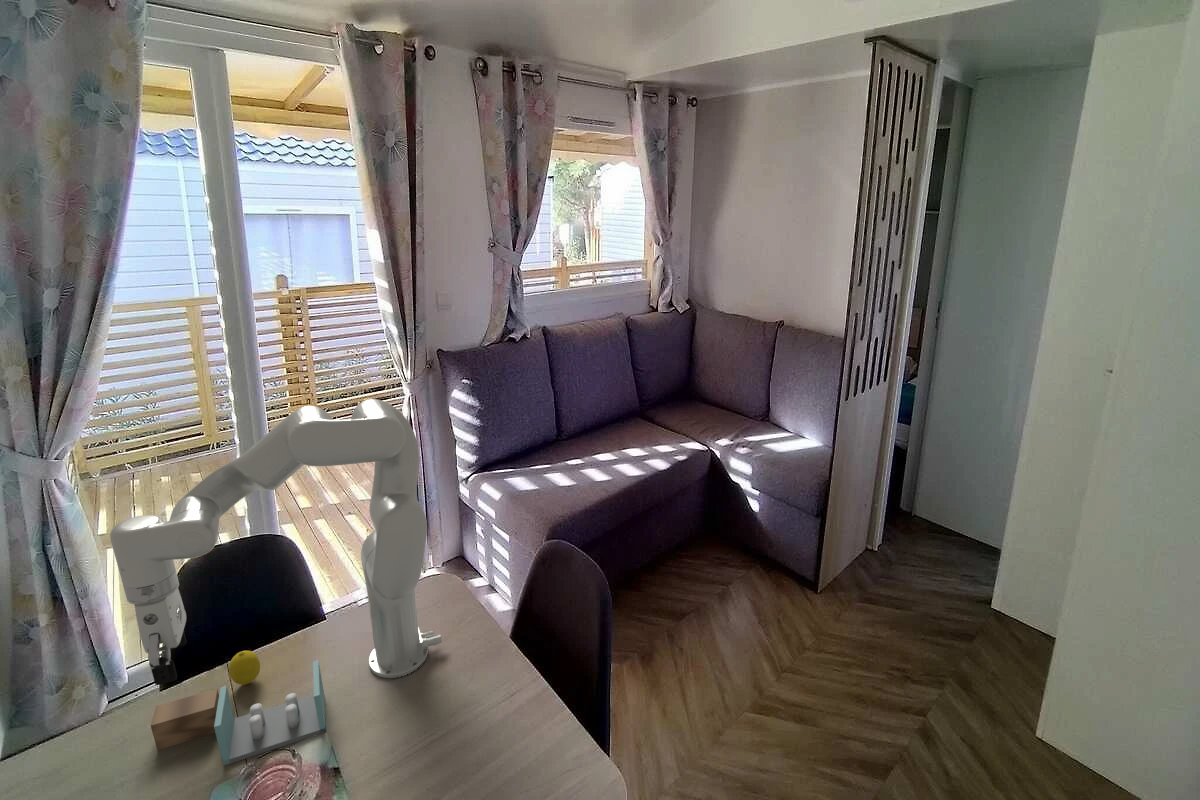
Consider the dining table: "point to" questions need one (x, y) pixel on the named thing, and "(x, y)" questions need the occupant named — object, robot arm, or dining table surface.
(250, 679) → the lemon
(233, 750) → the peg frame
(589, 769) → the dining table surface
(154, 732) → the brown wooden block
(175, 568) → the robot arm
